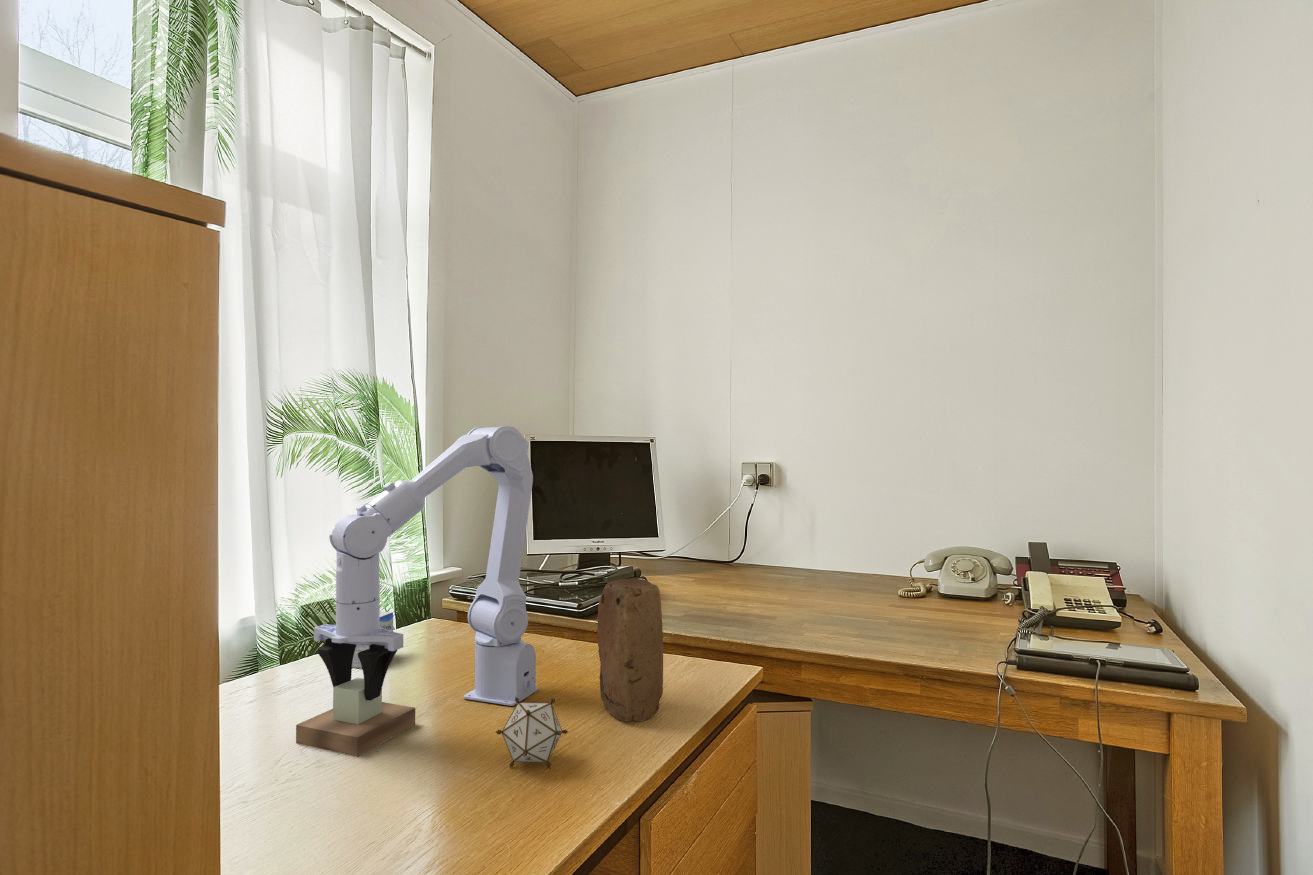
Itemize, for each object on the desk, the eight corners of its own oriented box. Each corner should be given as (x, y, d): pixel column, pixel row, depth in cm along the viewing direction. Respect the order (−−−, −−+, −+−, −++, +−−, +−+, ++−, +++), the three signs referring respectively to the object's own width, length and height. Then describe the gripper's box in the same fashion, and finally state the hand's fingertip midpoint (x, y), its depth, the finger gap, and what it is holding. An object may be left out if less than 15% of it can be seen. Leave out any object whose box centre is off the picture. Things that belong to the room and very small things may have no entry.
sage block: (381, 712, 99) (382, 681, 99) (358, 724, 94) (358, 691, 95) (357, 708, 100) (357, 677, 100) (332, 719, 96) (333, 687, 96)
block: (667, 718, 103) (667, 585, 103) (623, 729, 99) (623, 590, 99) (633, 695, 112) (633, 573, 112) (591, 704, 108) (591, 577, 108)
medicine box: (369, 669, 125) (369, 622, 125) (347, 667, 126) (347, 620, 126) (393, 656, 133) (394, 611, 133) (373, 655, 134) (373, 610, 134)
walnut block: (415, 728, 100) (415, 707, 100) (357, 760, 90) (357, 737, 90) (357, 717, 104) (357, 697, 104) (295, 746, 94) (296, 724, 94)
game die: (535, 798, 86) (525, 757, 80) (490, 759, 91) (477, 717, 85) (583, 744, 92) (576, 702, 86) (539, 709, 96) (529, 667, 90)
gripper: (296, 601, 96) (295, 698, 96) (377, 610, 91) (377, 712, 91) (335, 591, 103) (335, 681, 103) (413, 599, 98) (413, 694, 98)
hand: (357, 695), depth 97 cm, fingers open, 5 cm apart
